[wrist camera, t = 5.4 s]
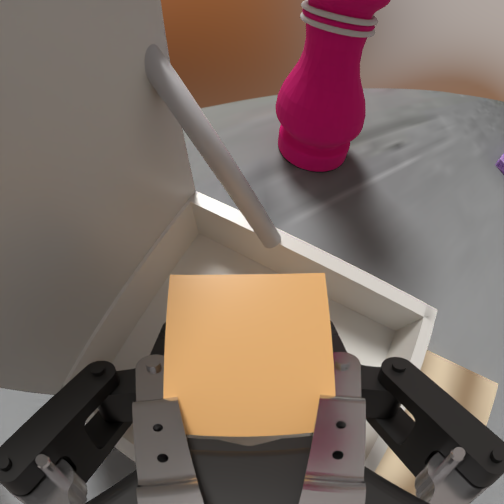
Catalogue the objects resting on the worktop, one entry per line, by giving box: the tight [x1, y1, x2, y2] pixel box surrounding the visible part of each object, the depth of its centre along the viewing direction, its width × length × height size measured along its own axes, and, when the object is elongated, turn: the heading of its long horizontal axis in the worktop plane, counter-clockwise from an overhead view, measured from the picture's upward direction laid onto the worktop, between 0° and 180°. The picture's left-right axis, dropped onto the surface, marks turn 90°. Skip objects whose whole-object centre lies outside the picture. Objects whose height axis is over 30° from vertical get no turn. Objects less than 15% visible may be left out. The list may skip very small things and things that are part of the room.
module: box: [163, 273, 336, 437], centre depth 11 cm, size 4×4×9 cm
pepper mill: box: [276, 0, 390, 172], centre depth 16 cm, size 7×7×20 cm
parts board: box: [375, 350, 498, 497], centre depth 13 cm, size 9×12×1 cm
